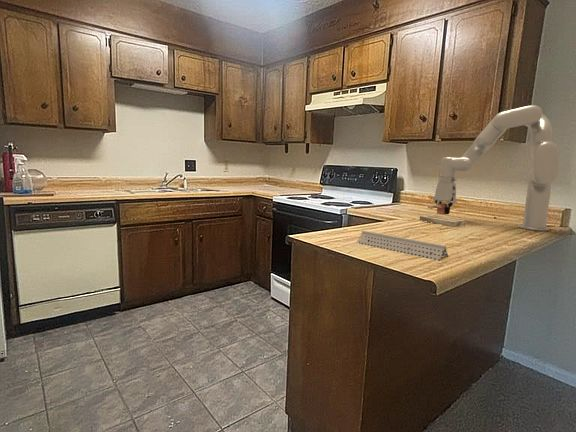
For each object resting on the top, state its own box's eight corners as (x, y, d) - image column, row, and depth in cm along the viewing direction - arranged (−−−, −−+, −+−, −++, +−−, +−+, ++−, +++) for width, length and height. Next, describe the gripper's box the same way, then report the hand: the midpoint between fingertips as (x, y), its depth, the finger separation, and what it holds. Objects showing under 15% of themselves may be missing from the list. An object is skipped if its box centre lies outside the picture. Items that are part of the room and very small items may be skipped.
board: (431, 219, 197) (431, 215, 197) (465, 225, 180) (465, 220, 180) (419, 220, 192) (420, 216, 191) (453, 226, 175) (454, 221, 175)
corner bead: (355, 245, 132) (356, 231, 132) (368, 241, 139) (369, 229, 138) (438, 263, 111) (439, 247, 110) (449, 258, 117) (450, 243, 116)
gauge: (442, 213, 197) (443, 203, 196) (448, 214, 194) (450, 204, 193) (424, 214, 189) (426, 204, 188) (431, 215, 186) (432, 205, 185)
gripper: (465, 181, 186) (461, 215, 189) (437, 179, 200) (433, 211, 203) (456, 181, 182) (452, 216, 185) (429, 178, 196) (425, 211, 199)
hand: (442, 213), depth 194 cm, fingers closed on gauge, 4 cm apart
